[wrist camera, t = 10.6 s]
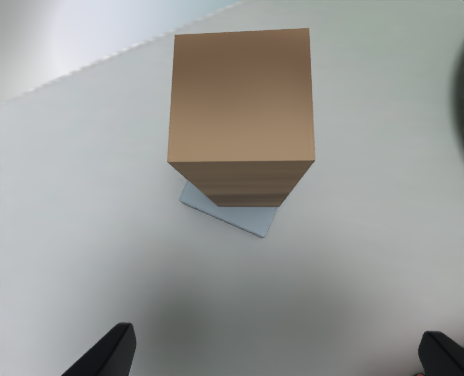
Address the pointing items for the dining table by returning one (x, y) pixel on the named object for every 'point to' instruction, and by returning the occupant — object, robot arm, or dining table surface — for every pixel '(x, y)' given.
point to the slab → (230, 211)
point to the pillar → (242, 114)
